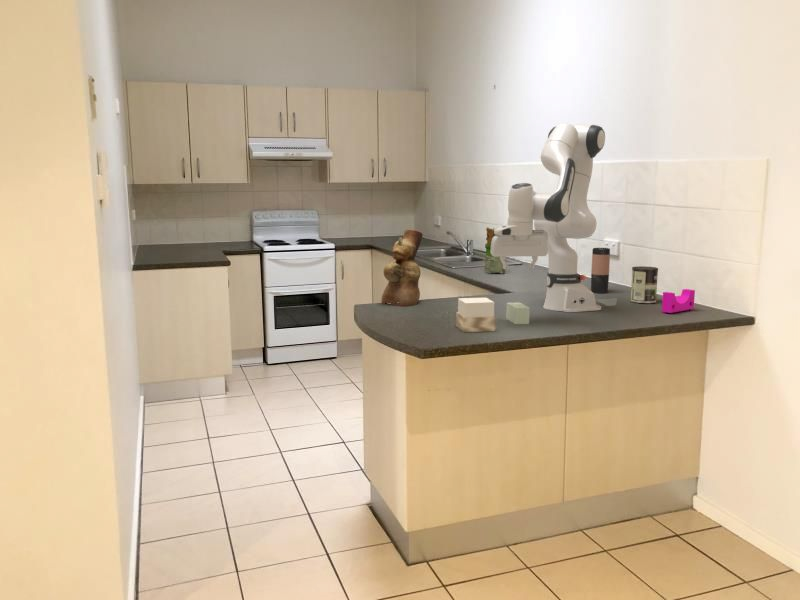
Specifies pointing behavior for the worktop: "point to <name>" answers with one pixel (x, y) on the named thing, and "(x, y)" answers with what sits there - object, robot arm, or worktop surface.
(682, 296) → the toy block
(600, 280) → the travel mug
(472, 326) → the tower base
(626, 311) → the worktop surface
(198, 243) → the worktop surface
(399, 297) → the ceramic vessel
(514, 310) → the green bar
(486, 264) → the pouch
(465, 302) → the tower top
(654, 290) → the coffee can
